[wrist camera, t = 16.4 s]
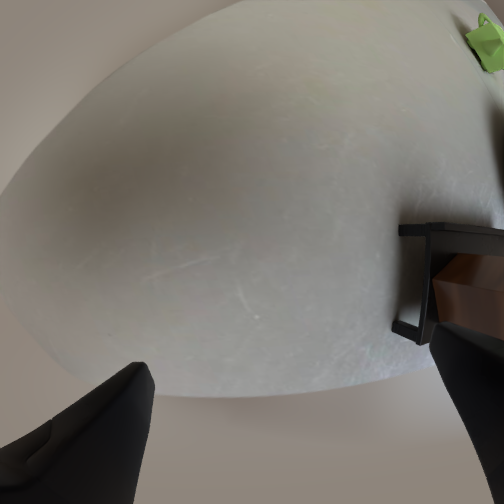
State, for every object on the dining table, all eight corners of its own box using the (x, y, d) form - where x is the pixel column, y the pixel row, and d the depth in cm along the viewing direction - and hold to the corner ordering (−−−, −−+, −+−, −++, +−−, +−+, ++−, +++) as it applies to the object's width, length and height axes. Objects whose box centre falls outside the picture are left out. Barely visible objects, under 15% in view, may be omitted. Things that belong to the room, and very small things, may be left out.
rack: (488, 301, 27) (517, 307, 22) (390, 333, 22) (432, 351, 17) (493, 231, 27) (523, 232, 22) (397, 223, 22) (444, 222, 16)
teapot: (488, 54, 29) (518, 43, 19) (503, 96, 30) (537, 87, 19) (450, 15, 26) (482, -3, 15) (466, 55, 26) (506, 38, 16)
